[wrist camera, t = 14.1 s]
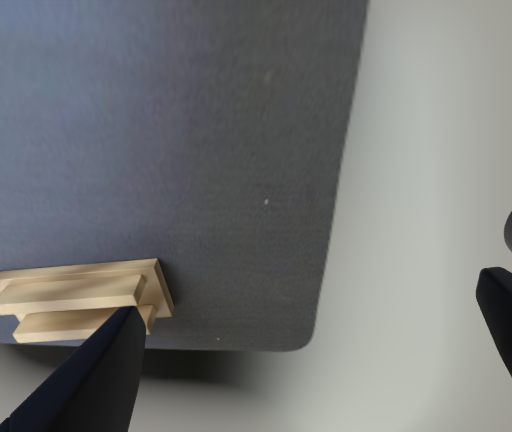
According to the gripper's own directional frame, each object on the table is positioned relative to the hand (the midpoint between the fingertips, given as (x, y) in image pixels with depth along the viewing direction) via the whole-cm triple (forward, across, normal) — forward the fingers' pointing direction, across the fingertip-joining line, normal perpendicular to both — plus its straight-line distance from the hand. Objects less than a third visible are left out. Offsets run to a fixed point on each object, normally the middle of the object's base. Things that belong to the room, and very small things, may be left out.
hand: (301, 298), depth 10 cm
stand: (+13, +16, +10) cm, 23 cm away
